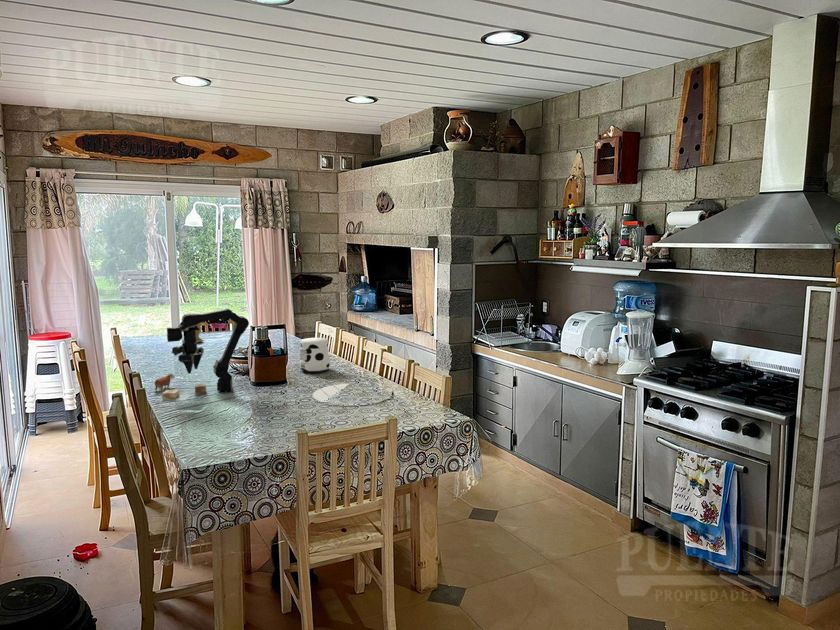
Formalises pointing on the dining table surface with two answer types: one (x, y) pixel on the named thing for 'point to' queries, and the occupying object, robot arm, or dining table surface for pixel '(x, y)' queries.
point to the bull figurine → (163, 381)
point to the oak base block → (170, 394)
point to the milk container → (314, 355)
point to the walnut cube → (200, 389)
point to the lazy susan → (332, 391)
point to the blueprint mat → (181, 397)
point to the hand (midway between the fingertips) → (192, 371)
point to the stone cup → (196, 334)
